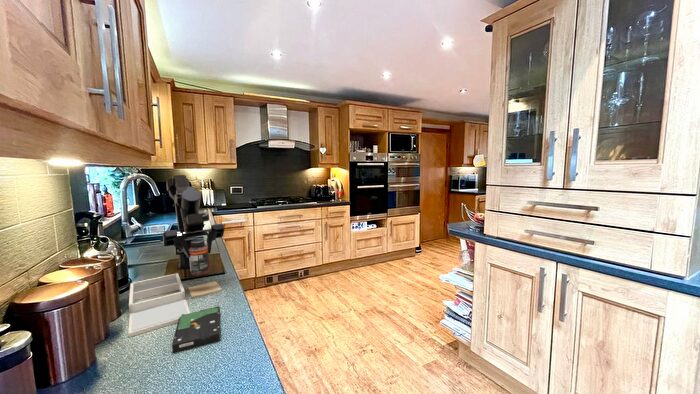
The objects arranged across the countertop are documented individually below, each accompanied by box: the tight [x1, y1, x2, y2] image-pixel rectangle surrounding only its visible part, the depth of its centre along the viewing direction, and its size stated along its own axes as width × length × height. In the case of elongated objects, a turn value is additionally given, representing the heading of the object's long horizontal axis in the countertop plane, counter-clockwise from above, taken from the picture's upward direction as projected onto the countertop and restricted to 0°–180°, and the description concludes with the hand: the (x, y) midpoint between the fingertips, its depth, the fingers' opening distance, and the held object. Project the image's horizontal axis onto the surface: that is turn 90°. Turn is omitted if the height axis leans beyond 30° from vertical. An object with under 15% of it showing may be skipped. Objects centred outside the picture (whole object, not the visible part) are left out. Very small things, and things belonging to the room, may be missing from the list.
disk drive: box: [171, 305, 222, 354], centre depth 73 cm, size 10×3×15 cm
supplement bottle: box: [189, 238, 211, 276], centre depth 95 cm, size 6×6×11 cm
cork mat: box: [187, 280, 223, 299], centre depth 97 cm, size 9×9×1 cm
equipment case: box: [127, 272, 191, 338], centre depth 87 cm, size 32×14×4 cm, turn 37°
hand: (199, 255), depth 94 cm, fingers closed on supplement bottle, 6 cm apart
